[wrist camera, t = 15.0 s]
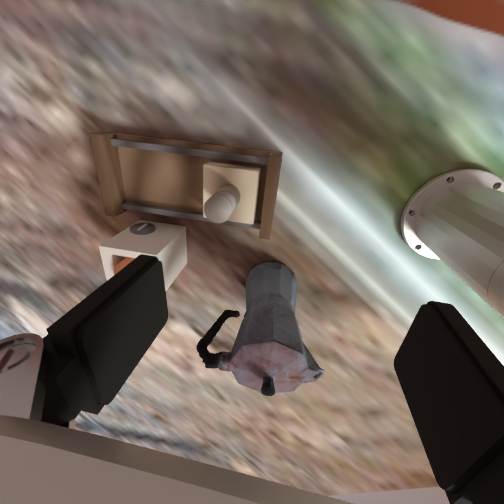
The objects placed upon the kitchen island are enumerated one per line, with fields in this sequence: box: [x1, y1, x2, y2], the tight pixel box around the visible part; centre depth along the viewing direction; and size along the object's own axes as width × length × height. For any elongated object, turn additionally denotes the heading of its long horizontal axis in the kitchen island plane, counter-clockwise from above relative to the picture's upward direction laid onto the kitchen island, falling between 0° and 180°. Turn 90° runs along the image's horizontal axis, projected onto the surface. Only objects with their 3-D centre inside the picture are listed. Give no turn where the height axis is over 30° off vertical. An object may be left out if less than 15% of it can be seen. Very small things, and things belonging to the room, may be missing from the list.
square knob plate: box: [203, 161, 261, 224], centre depth 31 cm, size 7×7×9 cm
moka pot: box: [197, 262, 325, 396], centre depth 35 cm, size 10×15×20 cm, turn 90°
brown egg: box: [114, 257, 135, 275], centre depth 35 cm, size 4×4×4 cm
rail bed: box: [90, 132, 283, 240], centre depth 35 cm, size 24×11×4 cm, turn 85°
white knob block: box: [99, 220, 187, 291], centre depth 38 cm, size 8×8×10 cm
